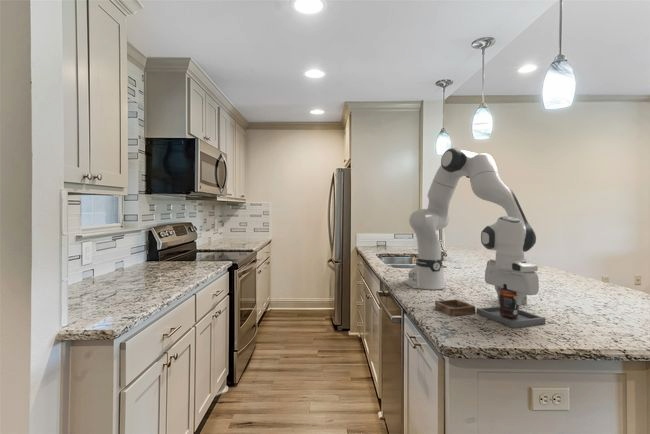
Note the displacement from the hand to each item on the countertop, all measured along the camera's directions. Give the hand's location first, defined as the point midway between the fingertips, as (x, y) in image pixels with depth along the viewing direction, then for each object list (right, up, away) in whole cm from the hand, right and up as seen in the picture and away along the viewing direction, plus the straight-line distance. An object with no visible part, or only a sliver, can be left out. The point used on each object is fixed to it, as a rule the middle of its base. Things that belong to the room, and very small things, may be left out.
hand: (509, 301), depth 118 cm
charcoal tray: (0, -6, 0) cm, 6 cm away
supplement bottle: (0, -5, 0) cm, 5 cm away
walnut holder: (-16, -6, +10) cm, 19 cm away
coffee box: (+13, -6, +22) cm, 26 cm away
